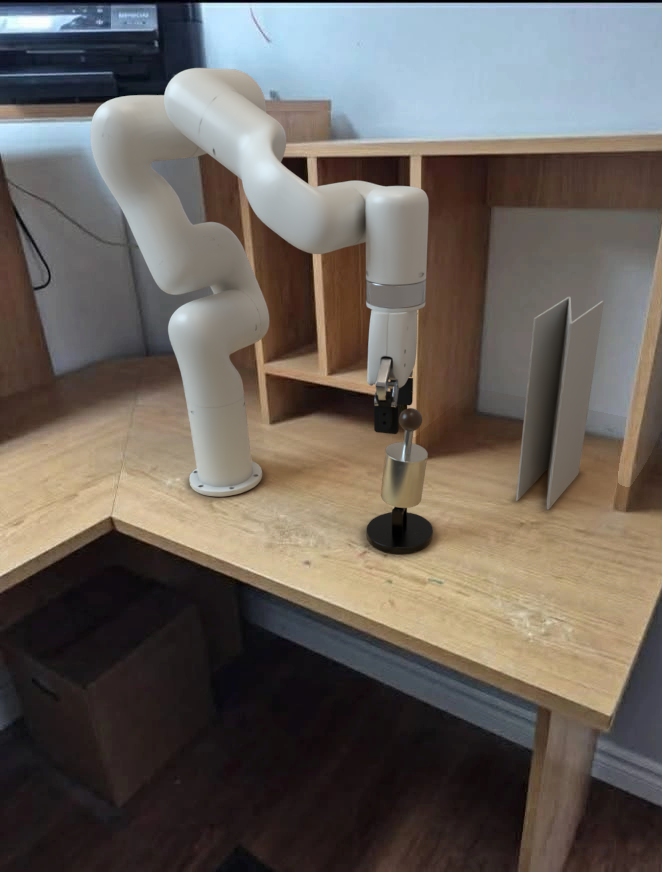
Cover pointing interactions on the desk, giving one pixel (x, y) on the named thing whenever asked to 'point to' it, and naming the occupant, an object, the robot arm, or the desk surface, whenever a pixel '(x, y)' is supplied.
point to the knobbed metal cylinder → (404, 466)
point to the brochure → (557, 397)
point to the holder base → (399, 532)
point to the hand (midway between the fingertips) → (394, 417)
